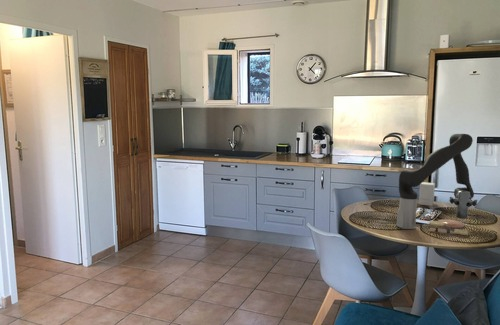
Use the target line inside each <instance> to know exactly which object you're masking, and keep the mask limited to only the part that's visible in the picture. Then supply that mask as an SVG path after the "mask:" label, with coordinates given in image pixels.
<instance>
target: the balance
mask: <svg viewBox="0 0 500 325" xmlns="http://www.w3.org/2000/svg"><path fill="white" fill-rule="evenodd" d="M443 224H444V222H439V221H437V220H430V224H429V225H431V226H434V227H430V228H429V230H428V231H429V233H433V234H441V235H446V236H447V235H448V236H453V237H454V236H455V237H462V238H468V237H469V236H468V234H469V232H468V230H465V229H460V228H449V227H445V226H443ZM439 227H440V228H439Z"/></svg>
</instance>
